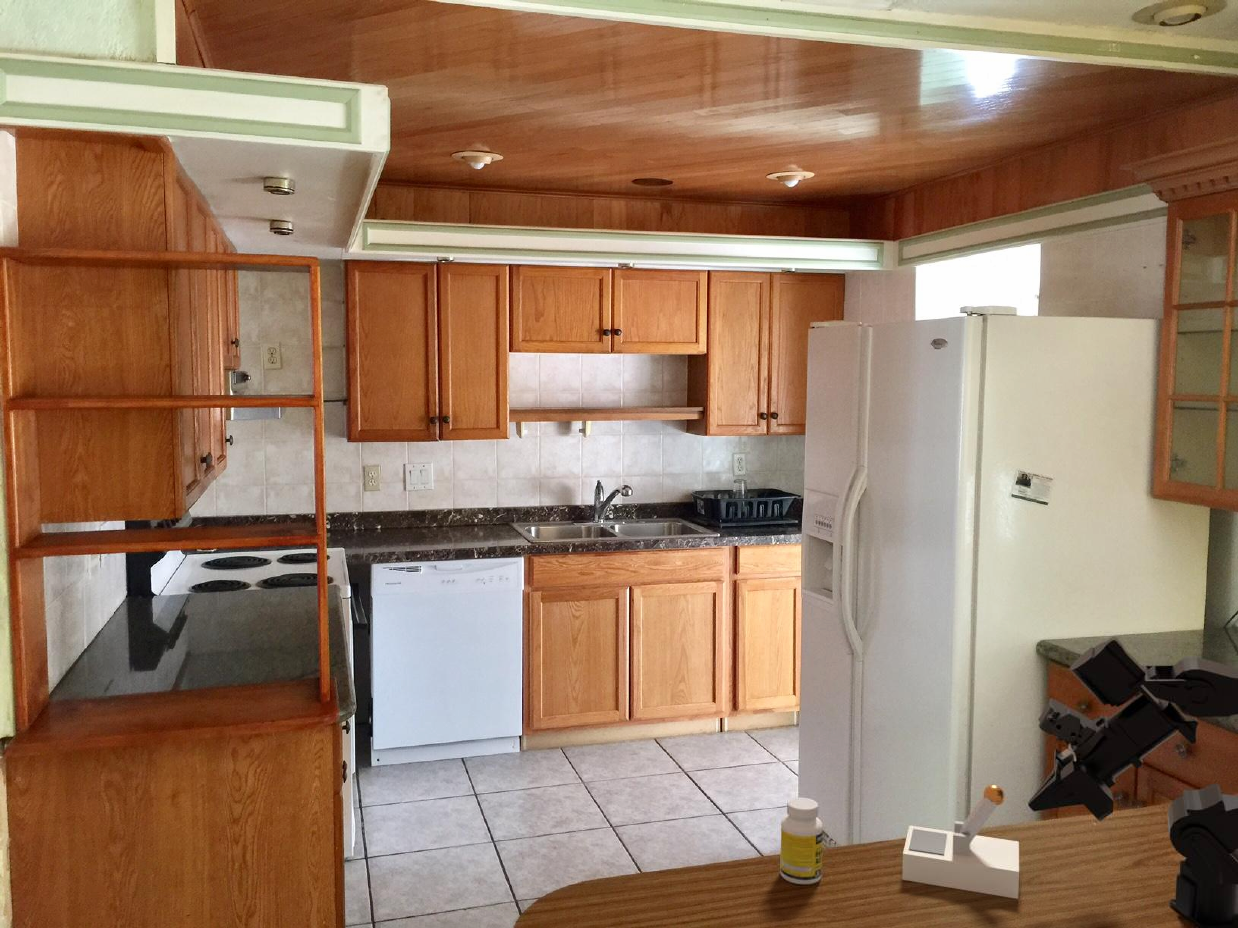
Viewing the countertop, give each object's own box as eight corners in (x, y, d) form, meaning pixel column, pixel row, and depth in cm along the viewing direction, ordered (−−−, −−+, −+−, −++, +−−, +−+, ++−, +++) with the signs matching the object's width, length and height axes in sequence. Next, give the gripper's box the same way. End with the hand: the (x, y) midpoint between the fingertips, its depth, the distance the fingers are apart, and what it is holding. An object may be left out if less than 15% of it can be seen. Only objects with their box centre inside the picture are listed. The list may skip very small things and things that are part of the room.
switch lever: (968, 845, 136) (1008, 789, 134) (967, 853, 133) (1008, 797, 131) (950, 833, 137) (990, 777, 134) (949, 841, 134) (990, 785, 132)
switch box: (1017, 866, 137) (1019, 823, 136) (1018, 898, 129) (1019, 852, 128) (908, 849, 142) (909, 807, 141) (902, 879, 134) (903, 834, 133)
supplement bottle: (822, 887, 131) (823, 813, 131) (779, 883, 133) (780, 809, 132) (822, 867, 137) (823, 796, 136) (781, 864, 138) (781, 793, 137)
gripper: (1077, 664, 137) (986, 734, 142) (1086, 705, 119) (982, 784, 124) (1140, 729, 135) (1046, 798, 140) (1159, 781, 117) (1050, 858, 122)
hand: (1030, 807), depth 131 cm, fingers closed
